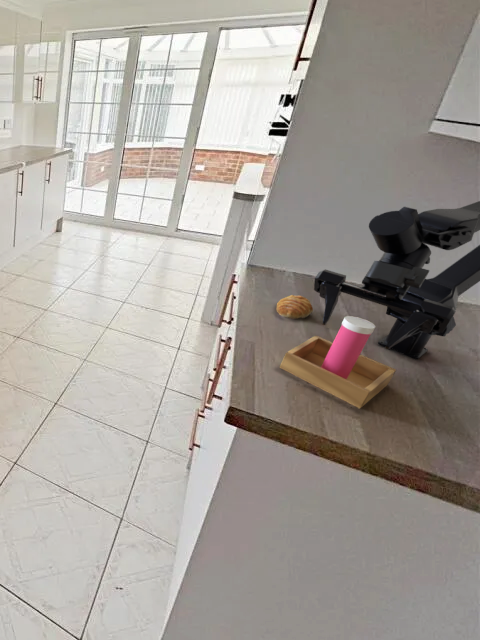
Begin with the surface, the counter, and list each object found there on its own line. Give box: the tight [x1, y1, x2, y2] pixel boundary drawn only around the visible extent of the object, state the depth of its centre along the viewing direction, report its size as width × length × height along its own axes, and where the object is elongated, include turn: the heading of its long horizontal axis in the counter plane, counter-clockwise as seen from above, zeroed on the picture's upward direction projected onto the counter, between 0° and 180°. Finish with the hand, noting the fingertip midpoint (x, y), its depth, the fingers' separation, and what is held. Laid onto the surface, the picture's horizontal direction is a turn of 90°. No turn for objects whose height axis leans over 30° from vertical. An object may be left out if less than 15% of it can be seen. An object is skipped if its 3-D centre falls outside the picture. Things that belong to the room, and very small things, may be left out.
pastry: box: [276, 294, 314, 320], centre depth 100 cm, size 9×7×4 cm
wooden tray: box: [279, 335, 397, 409], centre depth 77 cm, size 13×13×4 cm
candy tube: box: [321, 315, 376, 379], centre depth 75 cm, size 4×4×12 cm
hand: (353, 335), depth 75 cm, fingers open, 9 cm apart
